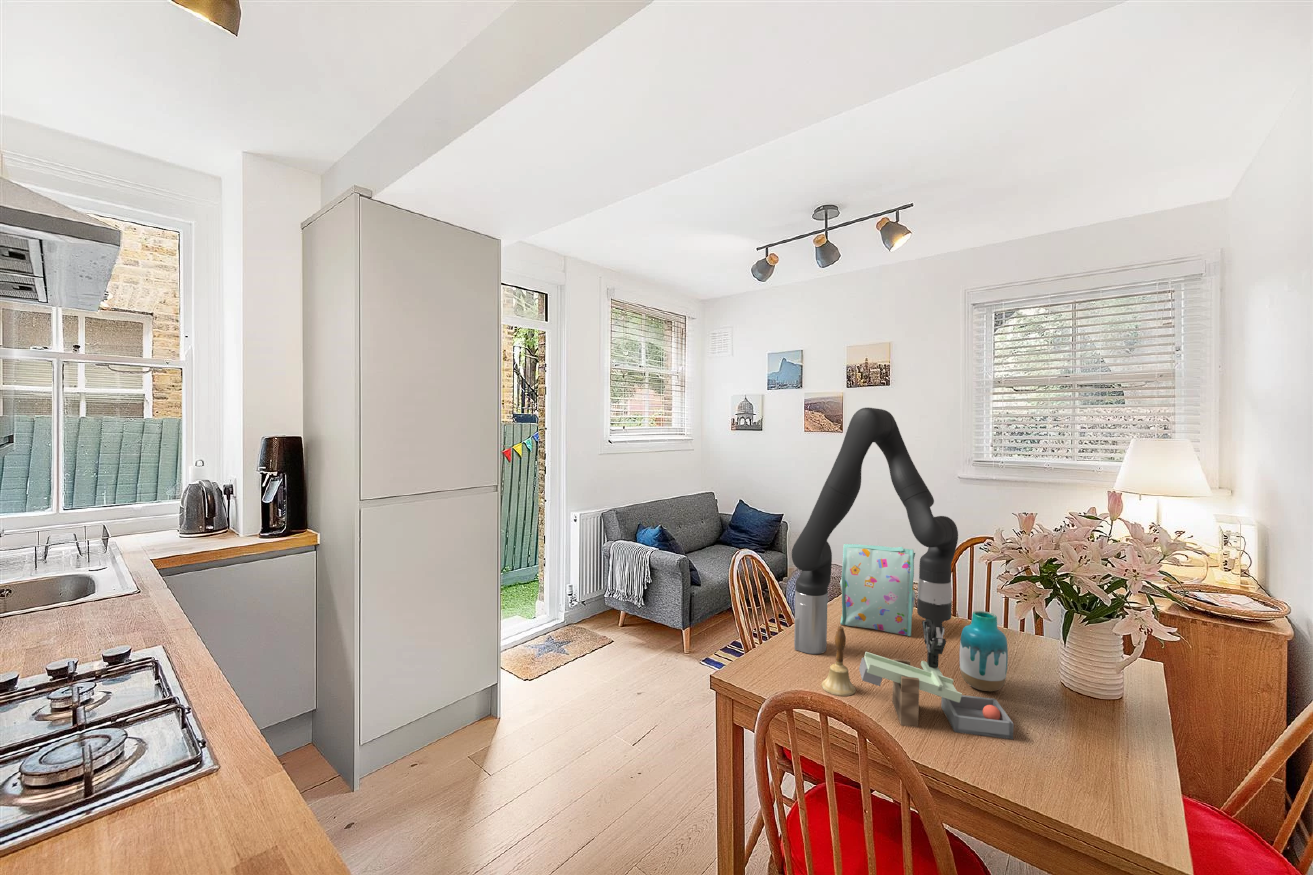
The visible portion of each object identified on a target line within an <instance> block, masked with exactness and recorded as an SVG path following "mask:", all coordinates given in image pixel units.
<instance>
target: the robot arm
mask: <svg viewBox="0 0 1313 875" xmlns="http://www.w3.org/2000/svg"><path fill="white" fill-rule="evenodd" d="M901 434H902V433H901V431H900V429H899V427H898V423H897V422H896V420H895V417H894V416H893V415H892V413H891V412H889V411H887V410H886V409H882V408H876V407H862V408H860V409H858V410H857V411H856V412H855V413H854V414H853V416H852V418H851V419H850V421H849V424H848V427H847V429H846V432H845V435H844V439H843V441H842V444H841V447H840V450H839V452H838V454H837V456H836V458H835V461H834V463H833V466H832V468H831V470H830V473H829V474H828V475H827V476H828V477H827V478H826V480H825V482H824V484H823V487H822V489H821V491H820V493H819V496H818V498H817V500H816V502H815V505H814V507H813V509H812V511H811V513H810V516H809V518H808V521H807V523H806V525H805V526H804V528H803V529H802V531H801V533H800V535H799V536H798V538H796V541H795V542H794V544H793V547H792V549H791V560H792V563H793V565H794V566H795V568H796V569H797V570H799V571H800V574H799V576H798V577H797V579H796V581H795V598H794V599H795V602H794V603H795V604H794V606H795V608H794V609H795V610H794V633H793V634H794V641H793V642H794V643H793V644H794V650H795V651H799V652H802V653H805V654H809V655H819V654H823V653H825V652H826V651H827V643H828V642H827V639H828V638H827V636H828V634H827V633H828V598H829V597H828V595H829V594H828V593H829V592H828V590H829V589H828V588H829V585H830V584H831V583H830V582H831V579H832V578H831V577H832V562H833V551H832V549H831V545H830V543H829V542H828V539H829V538H830V536H831V534H832V532H833V531H834V530H835V528H837V526H839V524H840V523H841V521H843V519H845V517H846V516H847V515H848V513H849V512H850V510H851V508H852V507H853V506H854V503H855V501H856V499H857V497H858V495H859V492H860V490H861V486H862V468H863V467H862V466H863V463H864V459H865V457H866V455H867V453H868V451H869V449H870V448H871V446H872V444H873V443H874V444H875V445H877V447H878V448H879V449H880V451H881V452H882V454H883V455H884V458H885V459H886V462H887V464H888V469H889V470H888V471H889V474H890V480H891V483H892V486H893V489H894V490H895V493H896V494H897V496H898V497H899V499H900V501H901V503H902V504H903V506H904V508H905V510H906V514H907V518H908V522H909V525H910V529H911V532H912V534H913V536H914V538H915V539H916V541H917V542H919V543H920V544H921V545H922V546H924V547H927V548H928V549H927V551H926V552H925V554H923V555H921V556H920V559H919V568H918V569H919V570H918V574H919V575H918V576H919V577H918V584H917V601H916V604H917V606H916V608H917V609H916V610H917V611H916V612H917V615H918V616H919V617H920V618H923V619H925V620H922V621H921V624H922V631H923V637H924V638H923V639H924V640H923V641H924V644H925V646H926V647H925V648H926V650H927V652H926V656H927V657H926V658H927V659H926V662H927V664H928V665H929V667H932V668H939V654H940V655H943V652H944V650H945V646H946V644H947V640H946V638H944V635H945V627H944V626H943V622H947V621H949V620H951V619H952V598H953V597H952V596H953V595H952V594H953V588H952V562H953V560H954V558H955V554H956V549H957V545H958V542H959V541H958V540H959V529H958V527H957V524H956V522H954V520H953V519H952V518H950V517H948V516H946V515H938V516H934V514H933V512H932V510H931V507H932V506H933V505H934V504H935V500H934V497H933V495H932V493H931V491H930V489H929V488H928V486H927V484H926V483H925V481H924V479H923V478H922V476H921V474H920V472H919V471H918V469H917V467H916V466H915V464H914V462H913V460H912V458H911V456H910V453H909V450H908V449H907V448H908V447H906V444H905V442H904V441H905V440H904V438H903V437H902V435H901Z"/></svg>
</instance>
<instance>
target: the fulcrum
mask: <svg viewBox="0 0 1313 875" xmlns="http://www.w3.org/2000/svg"><path fill="white" fill-rule="evenodd" d="M892 660H894V661H897V662H901V663H904V664H907V665H910V666H911V660H910V659H903V658H902V659H901V658H893V659H892ZM891 701H892V704H893V708H894V710H895V713H896V715H897V718H898V721H899V724H900V725H901V726H905V727H914V728H919V712H920V711H919V709H920V708H919V707H920V706H919V704H920V690H919V678H914V677H904V676H901V683H897V682H894V681H892V698H891Z"/></svg>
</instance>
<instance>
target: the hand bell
mask: <svg viewBox="0 0 1313 875" xmlns="http://www.w3.org/2000/svg"><path fill="white" fill-rule="evenodd" d="M846 637H847V636H846V634H845V630H844V627H843V626H838V627H837V630H836V633H835V636H834V645H835V648H836V654H835V655H836V656H835V657H836V659H835V663H833V664H831V665H830V666H829V671H828V675H827V677H826V679H824V680H823V681H822V682H821V687H822V689H823V690H824V691H826V692H827V693H829V694H831V695H834V696H837V697H849V696H852V695H854V694H856V687H855V686H854V684H853V683H852V681H851V679H850V675H849V673H850V672H849V668H848V667H847V666H845V665H844V651H845V650H844V649H845V647H846V642H847V641H846V640H847V638H846Z"/></svg>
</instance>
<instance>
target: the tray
mask: <svg viewBox="0 0 1313 875" xmlns="http://www.w3.org/2000/svg"><path fill="white" fill-rule="evenodd" d="M940 698H941V703H940V707H941V709H942V711H943V713H944V715H945V718H946V719H947V720H948V723H949V725H950V727H951V729H952V731H953V732H954V733H959V734H965V735H966V734H968V735H975V736H981V737H982V736H983V737H991V738H999V739H1006V740H1014V727H1015V726H1014V724H1015V723H1014V722H1013V721H1012V719H1011V718H1010V717H1009V715H1008V714H1007V713H1006V711H1005V709H1004V708H1003V707H1002V706H1001V704H1000V702H998V700H997V699H996V698H993V697H992V698H991V697H982V696H973V695H963V694H962V696H961V700H960V703H959V702H956V701H953V700H949V699H946V698H943V697H940ZM986 705H993V706H995V707H996V708H998V710H999V711H1000V714H1001V717H1000V719H999V720H993V719H986V718H985V717H984V715H983V708H984V707H985V706H986Z"/></svg>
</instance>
